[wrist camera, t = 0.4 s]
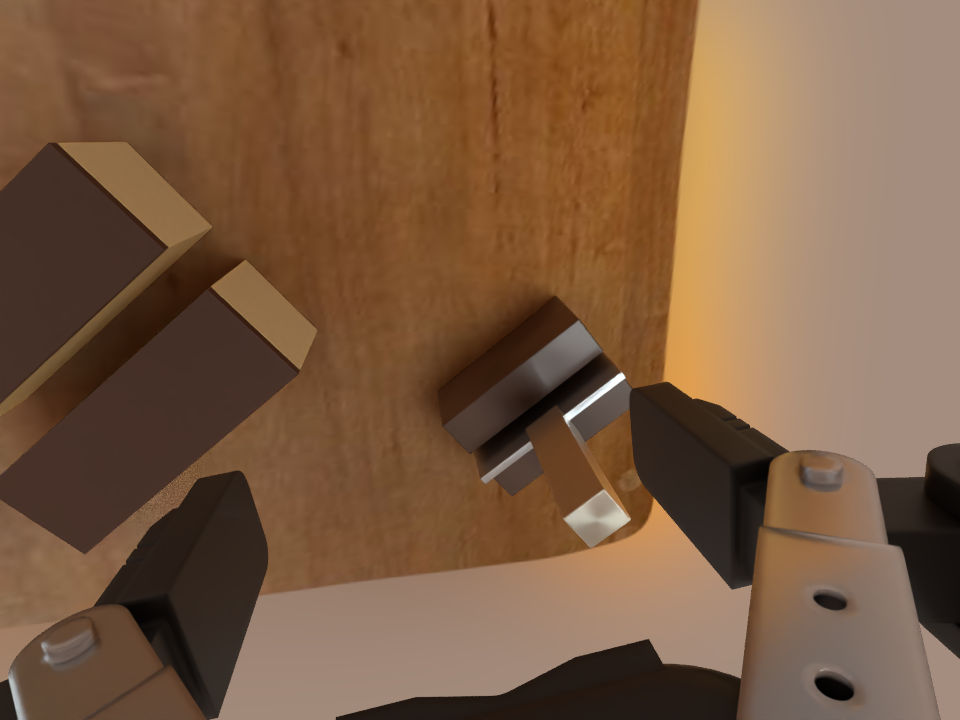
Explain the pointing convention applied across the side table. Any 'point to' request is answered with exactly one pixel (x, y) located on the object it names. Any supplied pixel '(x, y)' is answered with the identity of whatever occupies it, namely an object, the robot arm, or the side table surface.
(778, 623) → the robot arm
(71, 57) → the side table surface
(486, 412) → the knife block
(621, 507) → the tall metal bar
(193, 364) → the cake
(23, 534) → the side table surface
